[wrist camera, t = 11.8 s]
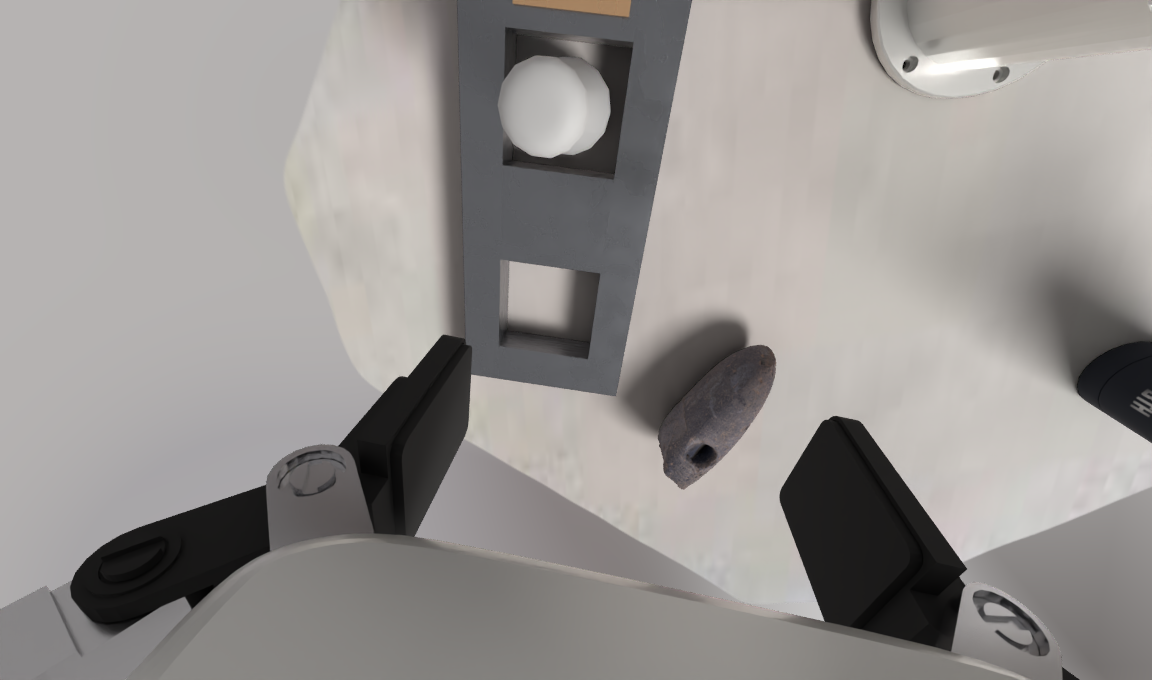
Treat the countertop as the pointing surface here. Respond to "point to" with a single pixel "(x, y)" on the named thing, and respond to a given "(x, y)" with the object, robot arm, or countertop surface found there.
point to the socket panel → (559, 185)
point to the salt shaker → (554, 105)
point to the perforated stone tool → (715, 414)
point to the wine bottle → (1122, 386)
